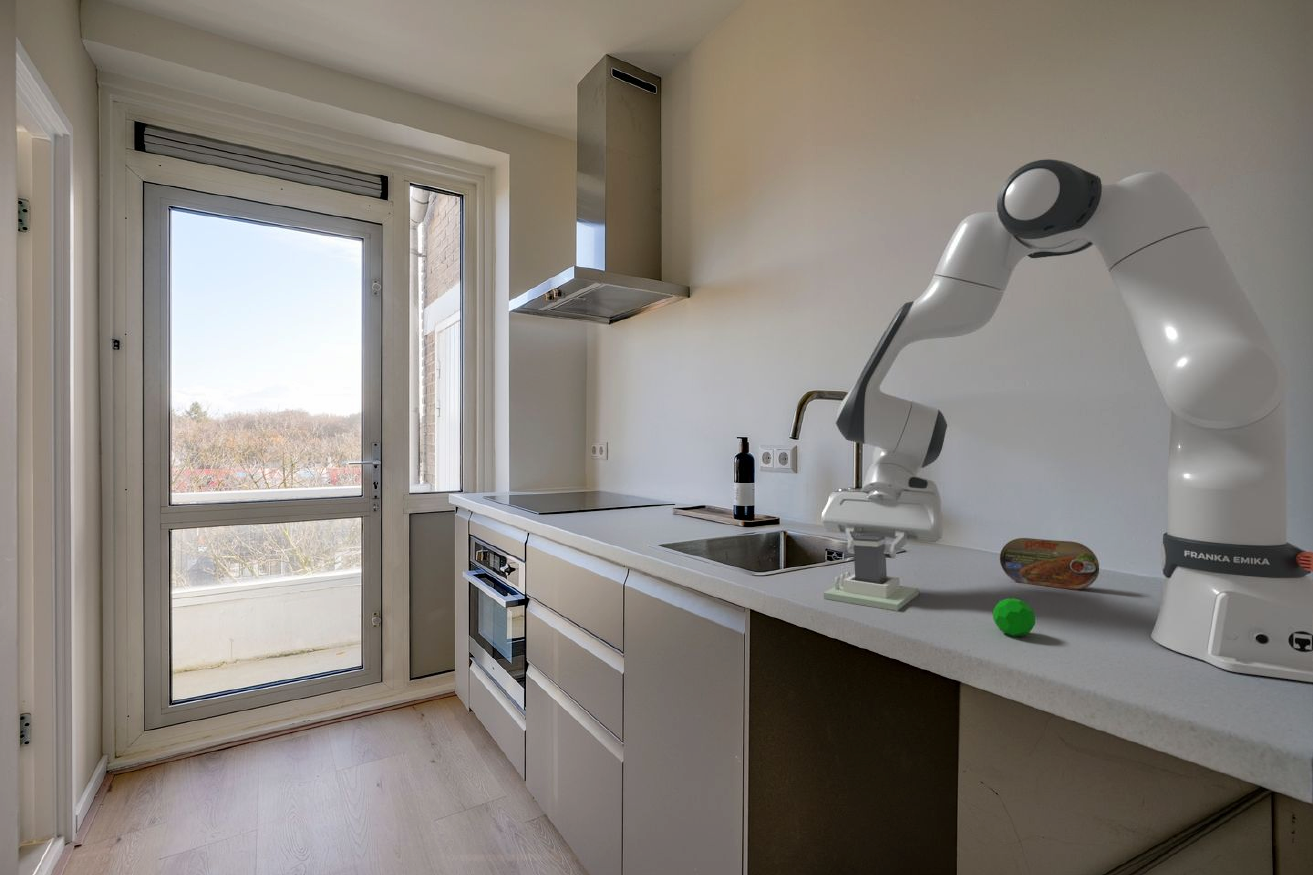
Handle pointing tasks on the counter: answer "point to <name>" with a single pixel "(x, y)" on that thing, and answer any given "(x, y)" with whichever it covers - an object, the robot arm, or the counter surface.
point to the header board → (871, 593)
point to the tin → (1049, 563)
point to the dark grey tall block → (870, 559)
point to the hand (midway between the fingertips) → (870, 553)
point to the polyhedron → (1014, 617)
